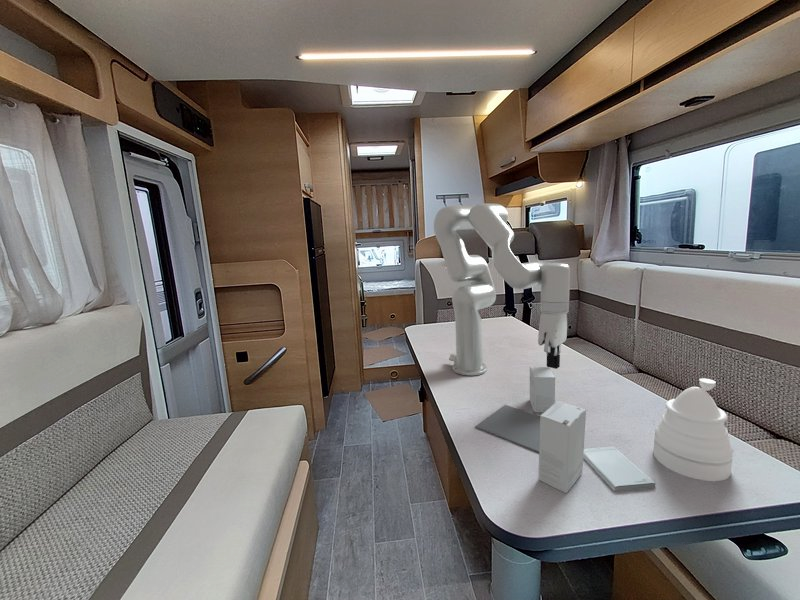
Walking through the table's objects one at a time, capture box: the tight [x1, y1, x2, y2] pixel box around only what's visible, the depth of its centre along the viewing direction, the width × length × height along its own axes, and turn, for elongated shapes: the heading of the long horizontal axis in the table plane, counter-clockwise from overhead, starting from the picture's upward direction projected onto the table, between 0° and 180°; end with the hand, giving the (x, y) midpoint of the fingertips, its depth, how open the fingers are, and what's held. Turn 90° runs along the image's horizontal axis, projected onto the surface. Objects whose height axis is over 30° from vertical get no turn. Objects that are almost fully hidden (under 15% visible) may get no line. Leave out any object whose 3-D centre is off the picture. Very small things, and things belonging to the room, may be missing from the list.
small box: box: [529, 366, 556, 413], centre depth 102 cm, size 8×6×10 cm
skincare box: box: [538, 400, 587, 494], centre depth 72 cm, size 8×6×15 cm
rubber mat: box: [474, 404, 541, 454], centre depth 92 cm, size 20×16×1 cm
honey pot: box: [652, 377, 734, 482], centre depth 75 cm, size 13×13×18 cm
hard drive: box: [583, 445, 656, 492], centre depth 75 cm, size 2×8×12 cm
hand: (553, 366), depth 107 cm, fingers closed
